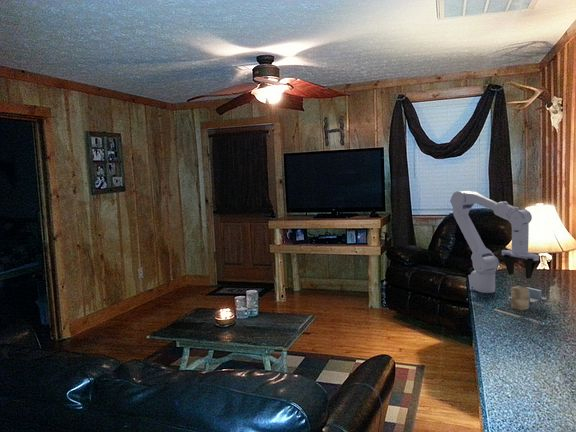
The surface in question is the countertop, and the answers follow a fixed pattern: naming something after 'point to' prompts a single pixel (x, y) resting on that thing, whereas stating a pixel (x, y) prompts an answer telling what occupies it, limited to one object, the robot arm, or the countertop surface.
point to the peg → (520, 298)
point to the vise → (534, 295)
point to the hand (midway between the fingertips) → (519, 276)
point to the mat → (509, 313)
